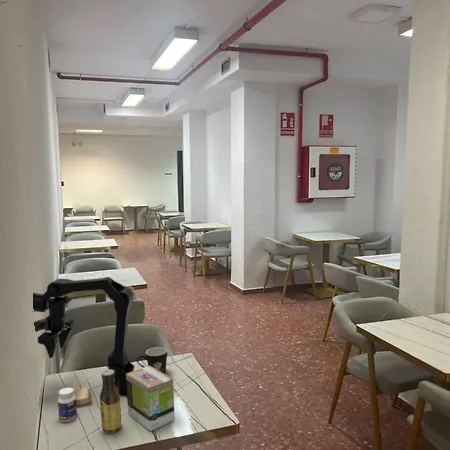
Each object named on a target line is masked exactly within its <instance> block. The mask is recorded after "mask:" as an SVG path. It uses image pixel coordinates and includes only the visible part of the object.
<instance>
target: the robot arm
mask: <svg viewBox="0 0 450 450" xmlns="http://www.w3.org/2000/svg"><path fill="white" fill-rule="evenodd" d="M100 290H102V291H103V292H105V294H106V295H107V296H108V298H109V299H111V301H113V303H114V310H115V314H116V320H115V321H116V323H115V330H114V331H115V334H114V346H113V349H112V351H111V352H110V353H109V355H107V366H106V368H108V370H109V369H111V370H114V371H115V377H114V379H115V385H116V386H117V388H118V389H119V396H126V397H127V384H126V374H127V373H130V372H133V371H135V365H134V364H133V363H132V362H131V361H130V360H129V354H128V350H127V340H128V339H127V338H128V325H129V315H130V314H129V313H130V310H131V307H132V305H133V302H134V298H135V293H134V291H133V290H132V289H130V288H128V287H126V286H124V285H123V284H121V283H120V282H117V281H115V280H114V279H113V278H112V277H109V276H105V277H100V278H89V279H79V280H77V279H76V280H73V279H69V278H57V279H55V280H53V281H52V282H50V283H48V285H47V287H46V291H45V292H44V293H37V292H32V293H33V309H34V311H33V312H36V313H37V312H38V313H45V312H46V311H48V316H46V317H45V318H42V319H38V320H37V321H34V326H35V331H36V332H35V331H34V332H35V333H37V332H39V331H42V330H44V332H42V333H41V334H40V335H39V336H37V344H40V345H43V346H44V347H45V349H46V352H47V355H48V358H49V359H53V358H54V355H55V352H56V350H57V347H58V344H59V348H60V349H63V348H64V346H65V344H66V342H67V340H68V339H69V336H70V334H71V332H72V331H73V328H74V327H75V321H74V320H72V319H68V318H67V317H68V314H67V313H66V304H69V303H70V302H71V301H72V299H71V297H69V295H70V294H72V293H80V292H90V291H100ZM68 294H69V295H68Z"/></svg>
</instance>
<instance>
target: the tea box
mask: <svg viewBox="0 0 450 450" xmlns="http://www.w3.org/2000/svg"><path fill="white" fill-rule="evenodd" d="M126 384H127V396H126V398H127V399H126V401H127V413H128V414H129V415H130V416H131V417H132V418H133V419H135V420H136V421H137V422H138V423H140V424H141V425H142V426H144V427H145V428H146V429H147V430H148V431H150V432H152V431H154V430H157V429H159V428H161V427H163V426H165V425H167V424H169V423H171V422H173V421H175V419H176V416H175V414H176V413H175V396H174V395H175V394H174V393H175V392H174V379H173V377H170V376H169V375H168V374H164V373H162V372H160V371H159V370H157V369H155V368H153V367H151V366H148V365H147V366H145V367H144V368H143V367H141V368H140V369H136V370H133V372H130V373H127V374H126Z"/></svg>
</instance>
